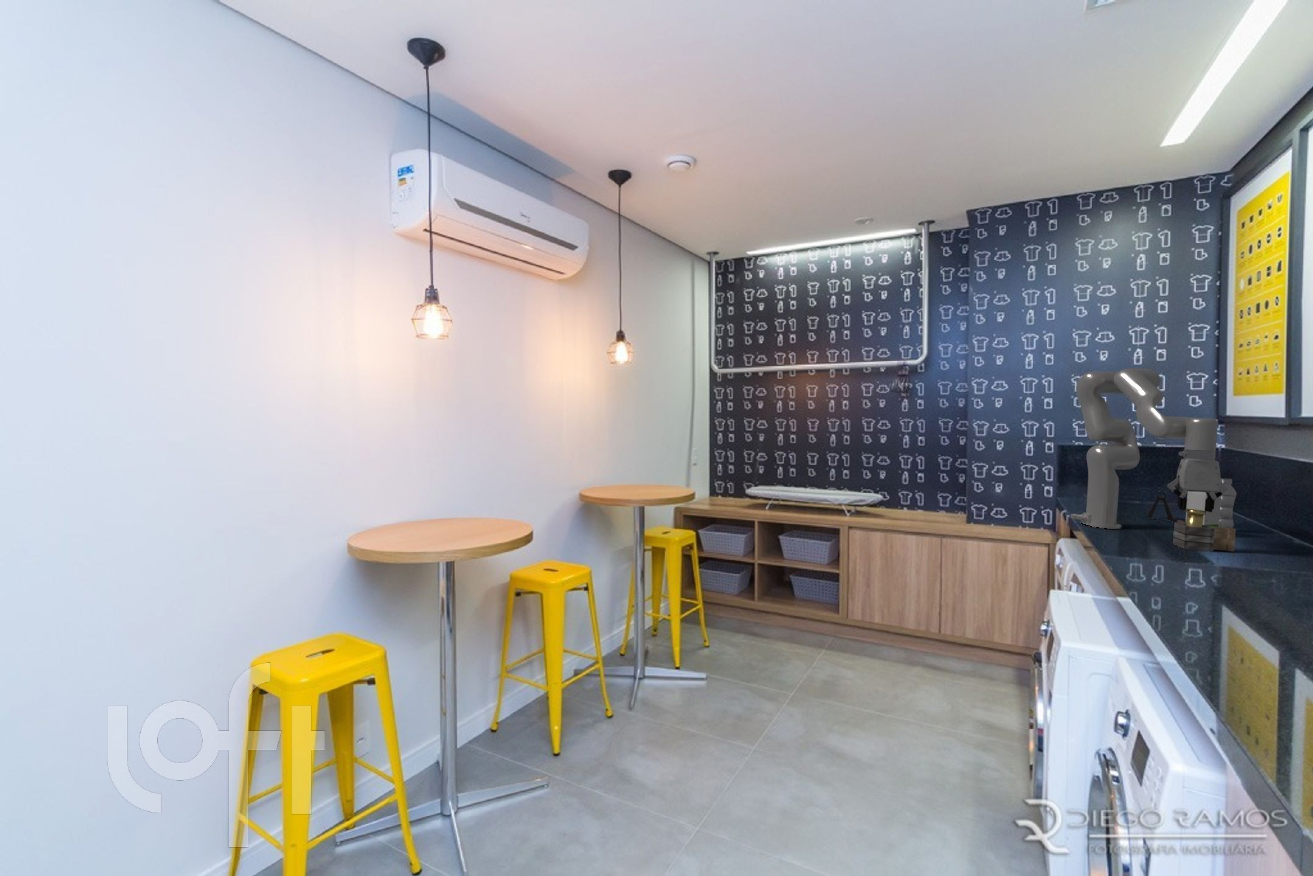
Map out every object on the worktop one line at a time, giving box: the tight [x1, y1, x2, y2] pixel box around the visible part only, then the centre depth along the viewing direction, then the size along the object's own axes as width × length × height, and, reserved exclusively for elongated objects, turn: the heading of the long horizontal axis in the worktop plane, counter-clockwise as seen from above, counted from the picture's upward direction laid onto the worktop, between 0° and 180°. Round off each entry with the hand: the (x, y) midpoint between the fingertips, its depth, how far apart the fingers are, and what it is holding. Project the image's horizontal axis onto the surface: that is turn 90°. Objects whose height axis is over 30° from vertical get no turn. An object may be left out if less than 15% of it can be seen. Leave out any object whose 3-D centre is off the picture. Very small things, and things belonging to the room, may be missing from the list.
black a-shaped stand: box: [1145, 490, 1175, 522], centre depth 248 cm, size 9×6×12 cm, turn 48°
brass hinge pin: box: [1184, 508, 1206, 542], centre depth 194 cm, size 5×5×12 cm
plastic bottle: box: [1219, 477, 1237, 529], centre depth 225 cm, size 6×7×20 cm
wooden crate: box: [1173, 526, 1237, 552], centre depth 193 cm, size 14×8×7 cm, turn 70°
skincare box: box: [1185, 490, 1221, 527], centre depth 218 cm, size 8×7×16 cm
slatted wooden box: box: [1172, 519, 1215, 553], centre depth 197 cm, size 8×14×8 cm, turn 160°
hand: (1195, 510), depth 194 cm, fingers open, 6 cm apart
